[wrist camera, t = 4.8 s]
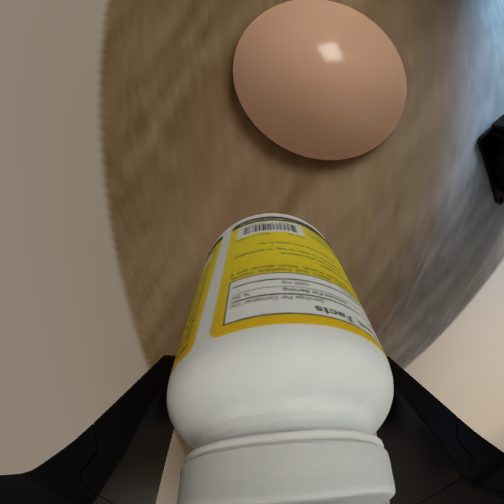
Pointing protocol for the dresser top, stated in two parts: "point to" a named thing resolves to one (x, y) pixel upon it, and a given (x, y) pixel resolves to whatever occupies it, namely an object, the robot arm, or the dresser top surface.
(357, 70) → the tan round disc
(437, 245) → the dresser top surface
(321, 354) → the pill bottle
